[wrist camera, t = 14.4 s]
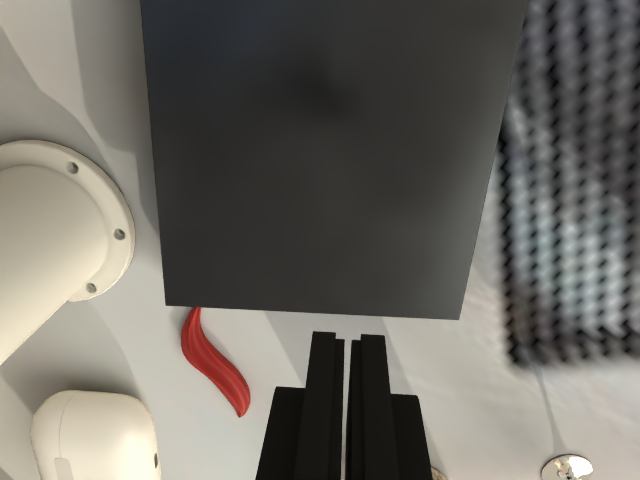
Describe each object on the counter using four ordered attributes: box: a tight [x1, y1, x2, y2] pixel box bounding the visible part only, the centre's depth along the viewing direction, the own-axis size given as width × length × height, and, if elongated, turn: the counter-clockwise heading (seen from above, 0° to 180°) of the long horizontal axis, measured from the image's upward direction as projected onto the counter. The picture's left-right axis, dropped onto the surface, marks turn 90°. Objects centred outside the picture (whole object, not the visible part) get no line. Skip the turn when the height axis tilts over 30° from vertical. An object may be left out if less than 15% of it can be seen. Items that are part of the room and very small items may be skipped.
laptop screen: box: [140, 0, 528, 320], centre depth 28 cm, size 21×30×1 cm
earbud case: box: [30, 390, 161, 480], centre depth 42 cm, size 10×13×5 cm
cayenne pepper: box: [181, 307, 250, 418], centre depth 40 cm, size 12×5×2 cm, turn 7°
